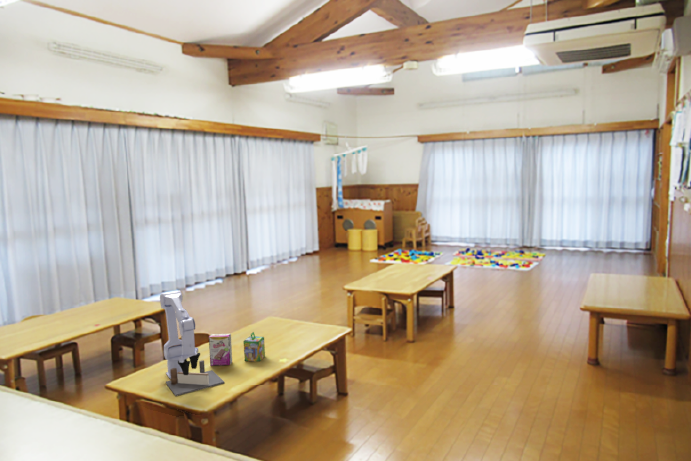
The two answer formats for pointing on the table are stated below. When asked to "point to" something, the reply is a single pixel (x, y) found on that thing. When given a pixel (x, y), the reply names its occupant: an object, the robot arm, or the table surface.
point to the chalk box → (254, 348)
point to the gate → (193, 378)
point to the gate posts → (174, 372)
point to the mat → (187, 388)
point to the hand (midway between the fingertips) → (190, 371)
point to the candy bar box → (220, 349)
